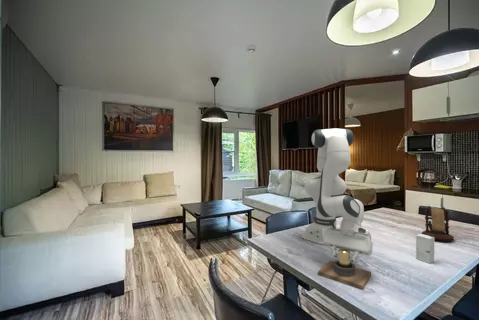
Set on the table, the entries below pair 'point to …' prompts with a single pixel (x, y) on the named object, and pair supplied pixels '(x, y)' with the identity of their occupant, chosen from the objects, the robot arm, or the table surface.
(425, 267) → the table surface
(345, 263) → the cylinder
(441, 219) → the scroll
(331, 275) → the ring holder
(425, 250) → the skincare box
